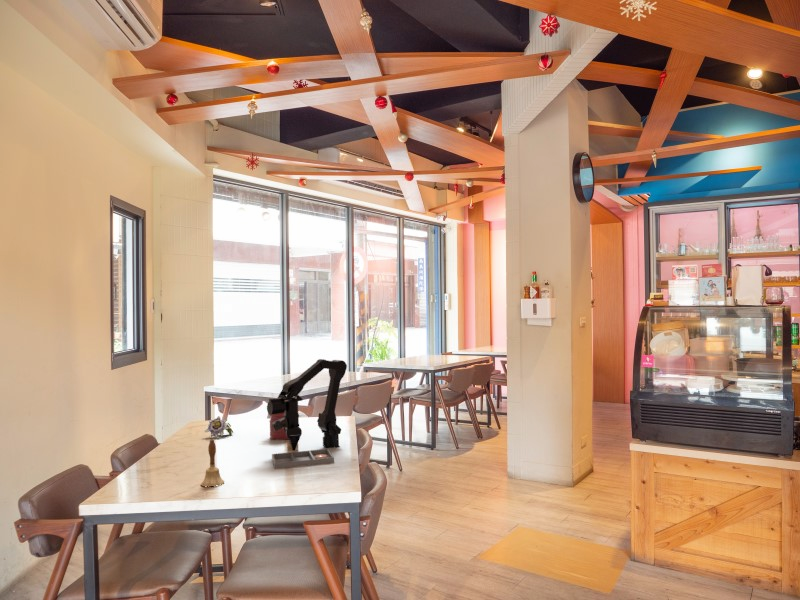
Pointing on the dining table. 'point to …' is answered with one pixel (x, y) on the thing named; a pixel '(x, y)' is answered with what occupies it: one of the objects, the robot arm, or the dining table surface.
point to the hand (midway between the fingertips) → (292, 447)
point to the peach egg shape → (320, 456)
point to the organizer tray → (301, 458)
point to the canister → (280, 432)
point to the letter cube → (289, 448)
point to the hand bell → (212, 469)
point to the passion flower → (218, 427)
